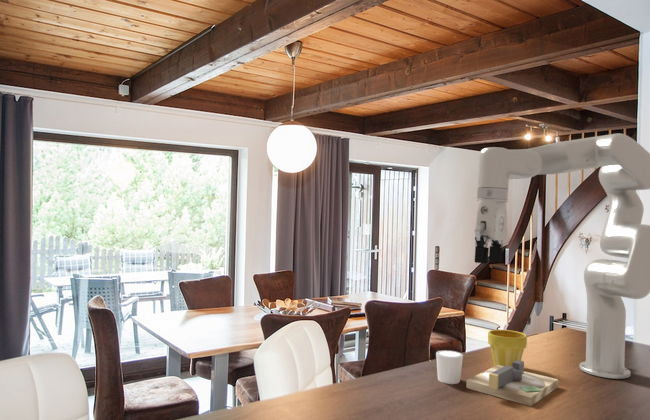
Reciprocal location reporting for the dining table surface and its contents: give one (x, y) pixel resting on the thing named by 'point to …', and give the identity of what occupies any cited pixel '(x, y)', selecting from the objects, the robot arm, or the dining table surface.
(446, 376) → the white cup
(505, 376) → the grey dial pointer
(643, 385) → the dining table surface
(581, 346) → the dining table surface
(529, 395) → the tuner board
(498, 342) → the plant pot
